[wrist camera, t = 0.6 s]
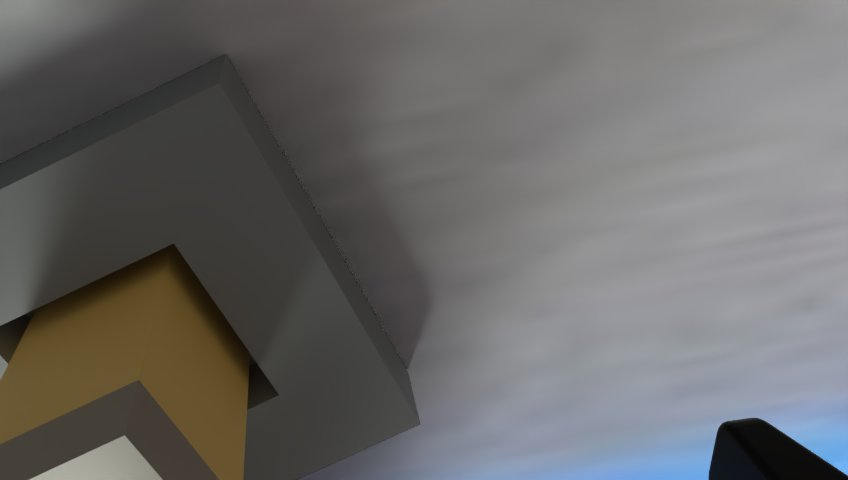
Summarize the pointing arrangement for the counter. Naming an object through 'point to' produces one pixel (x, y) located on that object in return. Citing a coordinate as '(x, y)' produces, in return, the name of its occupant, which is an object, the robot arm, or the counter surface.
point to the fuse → (127, 382)
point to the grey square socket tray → (211, 260)
